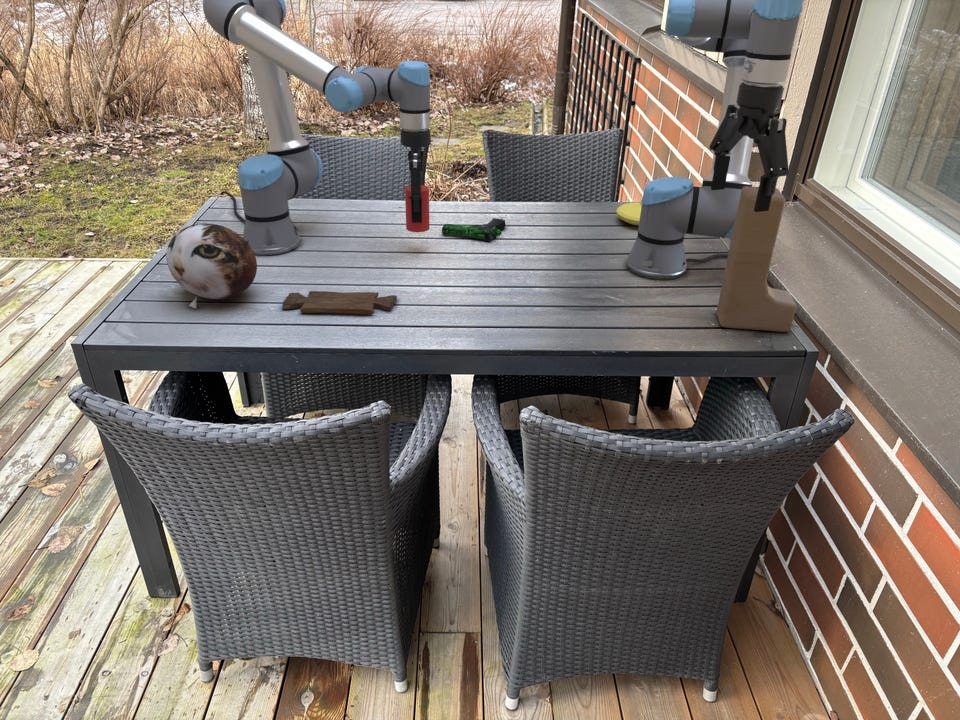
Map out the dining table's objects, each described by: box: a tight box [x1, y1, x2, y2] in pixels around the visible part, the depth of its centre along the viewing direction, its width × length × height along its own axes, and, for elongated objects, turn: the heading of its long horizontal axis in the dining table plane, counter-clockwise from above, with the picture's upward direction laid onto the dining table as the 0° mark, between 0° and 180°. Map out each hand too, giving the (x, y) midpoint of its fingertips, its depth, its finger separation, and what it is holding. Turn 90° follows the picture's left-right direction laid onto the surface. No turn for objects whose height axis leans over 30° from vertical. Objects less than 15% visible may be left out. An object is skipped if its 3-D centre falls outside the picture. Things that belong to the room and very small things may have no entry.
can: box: [404, 184, 430, 233], centre depth 189 cm, size 6×6×11 cm
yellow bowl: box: [616, 198, 642, 227], centre depth 215 cm, size 16×16×7 cm
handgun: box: [441, 217, 506, 242], centre depth 207 cm, size 16×3×15 cm
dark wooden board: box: [281, 290, 398, 315], centre depth 165 cm, size 26×2×10 cm
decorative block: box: [716, 186, 797, 333], centre depth 153 cm, size 8×15×30 cm, turn 82°
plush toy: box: [165, 222, 258, 309], centre depth 165 cm, size 22×18×20 cm
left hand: (417, 217), depth 190 cm, fingers closed on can, 6 cm apart
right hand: (738, 199), depth 138 cm, fingers open, 13 cm apart
